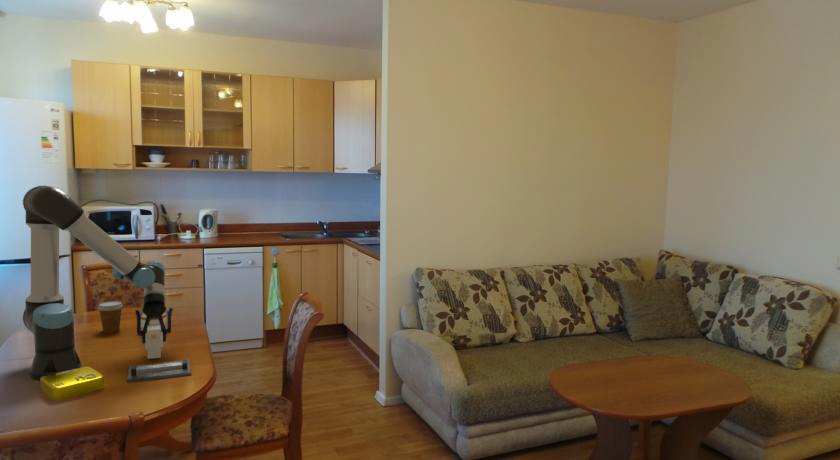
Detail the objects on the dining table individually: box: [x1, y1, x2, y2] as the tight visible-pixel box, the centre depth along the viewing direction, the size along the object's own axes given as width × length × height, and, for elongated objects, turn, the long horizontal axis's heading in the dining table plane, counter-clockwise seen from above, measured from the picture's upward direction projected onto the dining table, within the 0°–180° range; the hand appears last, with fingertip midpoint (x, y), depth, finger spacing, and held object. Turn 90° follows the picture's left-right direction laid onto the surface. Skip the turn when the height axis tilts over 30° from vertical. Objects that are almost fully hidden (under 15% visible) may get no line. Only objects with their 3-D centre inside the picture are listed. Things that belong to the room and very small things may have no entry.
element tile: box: [39, 365, 105, 401], centre depth 185 cm, size 15×15×5 cm
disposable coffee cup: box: [97, 300, 123, 333], centre depth 248 cm, size 10×10×12 cm
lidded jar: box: [141, 311, 168, 330], centre depth 248 cm, size 11×11×9 cm
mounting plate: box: [126, 358, 192, 383], centre depth 201 cm, size 20×14×3 cm
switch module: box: [147, 324, 162, 360], centre depth 215 cm, size 9×4×11 cm, turn 24°
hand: (154, 349), depth 212 cm, fingers closed on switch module, 4 cm apart
